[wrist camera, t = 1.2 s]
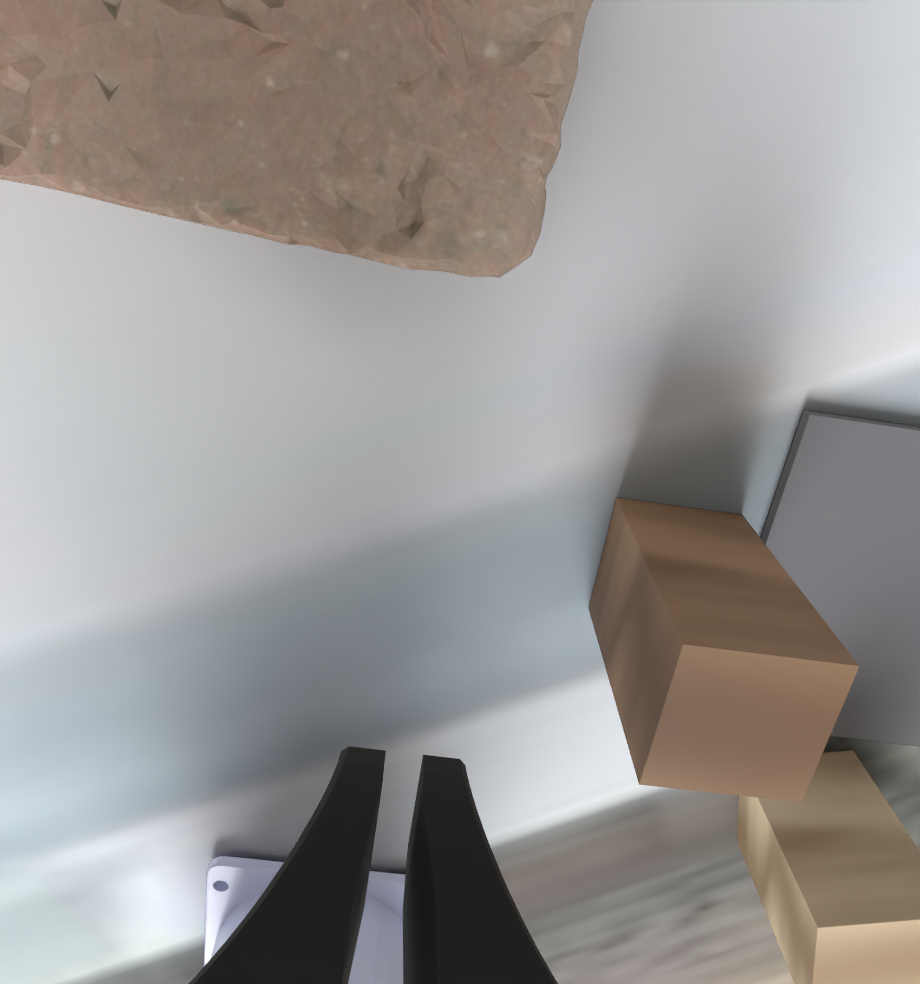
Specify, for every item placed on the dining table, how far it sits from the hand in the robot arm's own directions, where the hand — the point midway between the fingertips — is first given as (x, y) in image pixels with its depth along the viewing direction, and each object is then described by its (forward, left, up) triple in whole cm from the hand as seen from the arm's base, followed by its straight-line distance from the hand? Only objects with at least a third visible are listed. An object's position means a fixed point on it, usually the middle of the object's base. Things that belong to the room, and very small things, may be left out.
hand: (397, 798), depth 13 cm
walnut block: (0, -7, -10) cm, 12 cm away
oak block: (-8, -13, -10) cm, 19 cm away
